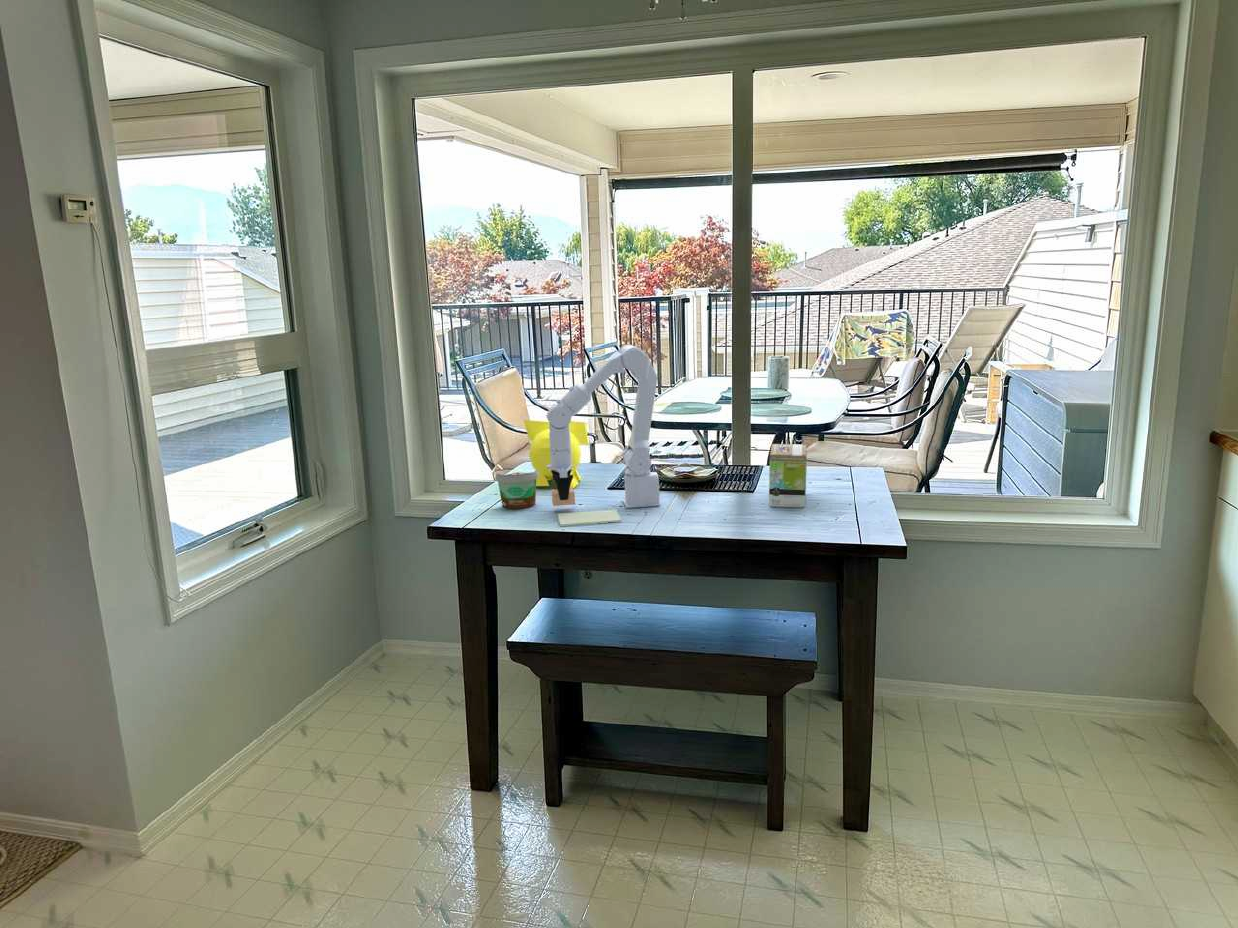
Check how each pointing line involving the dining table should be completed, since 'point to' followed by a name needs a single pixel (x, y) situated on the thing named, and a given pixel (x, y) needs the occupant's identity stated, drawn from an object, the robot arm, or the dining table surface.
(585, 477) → the dining table surface
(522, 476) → the food container
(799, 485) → the tea box
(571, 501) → the light orange block
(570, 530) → the dining table surface
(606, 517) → the mat
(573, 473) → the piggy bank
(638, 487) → the robot arm
